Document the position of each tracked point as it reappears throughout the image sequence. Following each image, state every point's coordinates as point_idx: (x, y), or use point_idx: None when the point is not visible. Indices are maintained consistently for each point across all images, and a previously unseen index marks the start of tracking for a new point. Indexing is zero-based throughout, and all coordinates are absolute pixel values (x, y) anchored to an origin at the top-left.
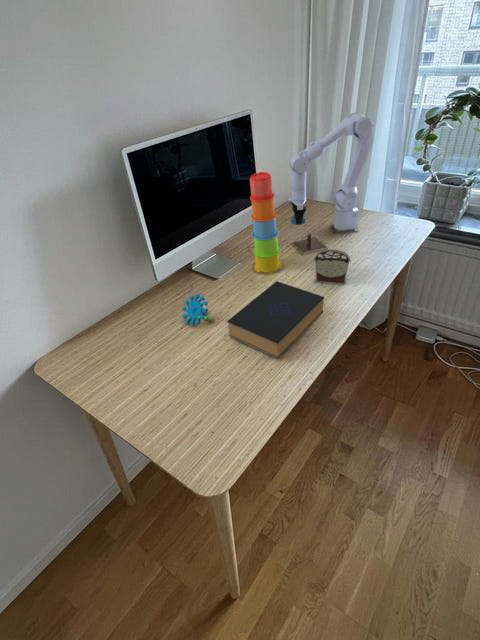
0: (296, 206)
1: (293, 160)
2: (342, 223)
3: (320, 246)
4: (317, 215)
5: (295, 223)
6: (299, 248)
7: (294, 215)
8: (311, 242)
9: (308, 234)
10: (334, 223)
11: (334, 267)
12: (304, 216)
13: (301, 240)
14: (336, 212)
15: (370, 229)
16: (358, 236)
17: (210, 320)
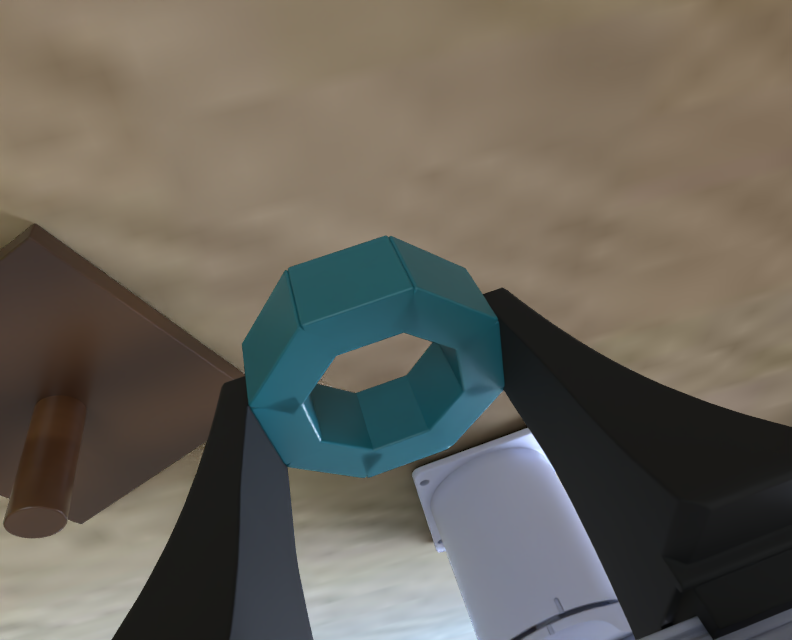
0: (594, 471)
1: None
2: (451, 558)
3: (74, 492)
4: (773, 276)
5: (246, 356)
6: None
7: (477, 322)
8: (131, 412)
9: (36, 515)
10: (501, 485)
11: None
12: (431, 451)
13: (140, 318)
14: (524, 606)
15: None
16: (367, 566)
17: None
